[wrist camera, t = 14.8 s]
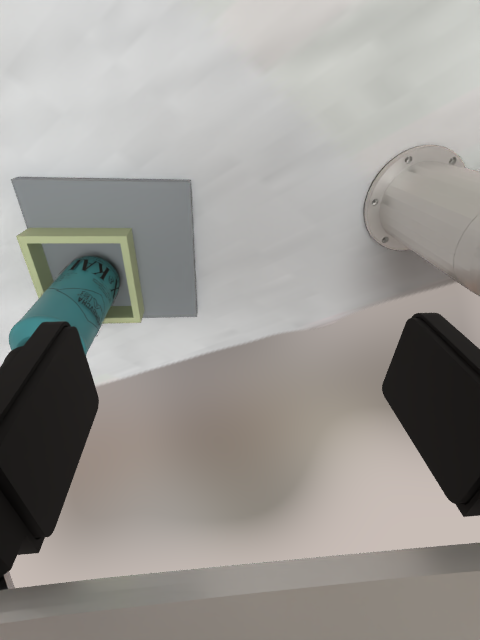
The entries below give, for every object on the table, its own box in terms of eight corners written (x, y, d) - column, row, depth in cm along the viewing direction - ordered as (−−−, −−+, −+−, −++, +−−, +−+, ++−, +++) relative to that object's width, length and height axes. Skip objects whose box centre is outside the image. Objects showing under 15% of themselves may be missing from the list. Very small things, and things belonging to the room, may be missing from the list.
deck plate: (190, 179, 37) (188, 187, 33) (197, 311, 47) (196, 328, 43) (17, 176, 35) (-5, 185, 32) (62, 313, 45) (49, 332, 42)
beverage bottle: (102, 303, 43) (39, 425, 27) (58, 270, 40) (-44, 384, 24) (135, 275, 42) (88, 386, 25) (92, 237, 38) (5, 335, 22)
